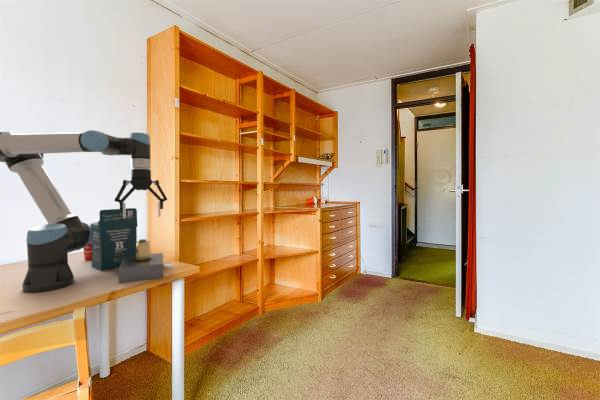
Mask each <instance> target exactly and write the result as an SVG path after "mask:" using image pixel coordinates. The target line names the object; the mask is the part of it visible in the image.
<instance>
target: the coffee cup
mask: <svg viewBox="0 0 600 400" xmlns="http://www.w3.org/2000/svg"><path fill="white" fill-rule="evenodd" d="M82 249H83V258H84V261H88V262H89V261H90V262H92V240H91V242H90V243H89V244H88V245H87V246H86V247H83V248H82Z"/></svg>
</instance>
